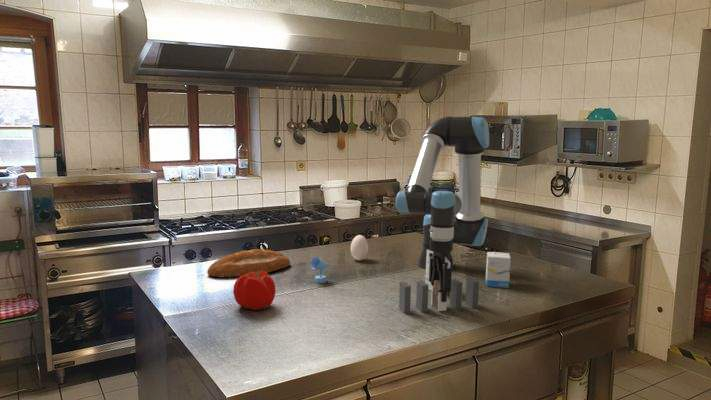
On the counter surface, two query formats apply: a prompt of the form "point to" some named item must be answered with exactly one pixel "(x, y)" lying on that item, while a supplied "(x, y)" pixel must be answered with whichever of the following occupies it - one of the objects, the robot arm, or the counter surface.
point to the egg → (359, 247)
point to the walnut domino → (436, 293)
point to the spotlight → (319, 265)
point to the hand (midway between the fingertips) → (438, 307)
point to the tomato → (254, 290)
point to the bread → (248, 263)
